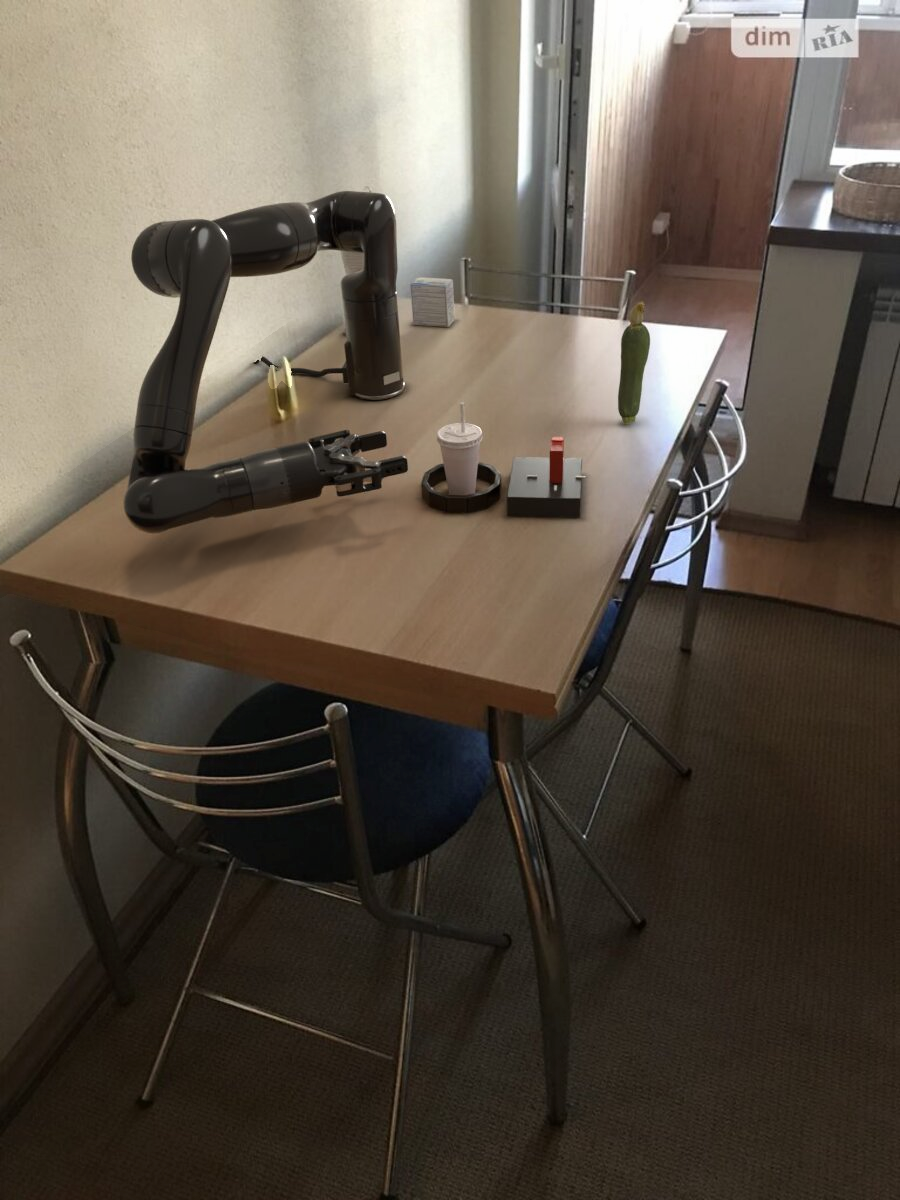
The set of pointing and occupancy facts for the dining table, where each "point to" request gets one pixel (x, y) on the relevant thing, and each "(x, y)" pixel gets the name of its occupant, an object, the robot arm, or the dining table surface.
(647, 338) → the vegetable
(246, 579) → the dining table surface
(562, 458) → the knob
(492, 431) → the dining table surface
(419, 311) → the grey striped block
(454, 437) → the smoothie
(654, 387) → the dining table surface
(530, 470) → the panel
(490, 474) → the ring
